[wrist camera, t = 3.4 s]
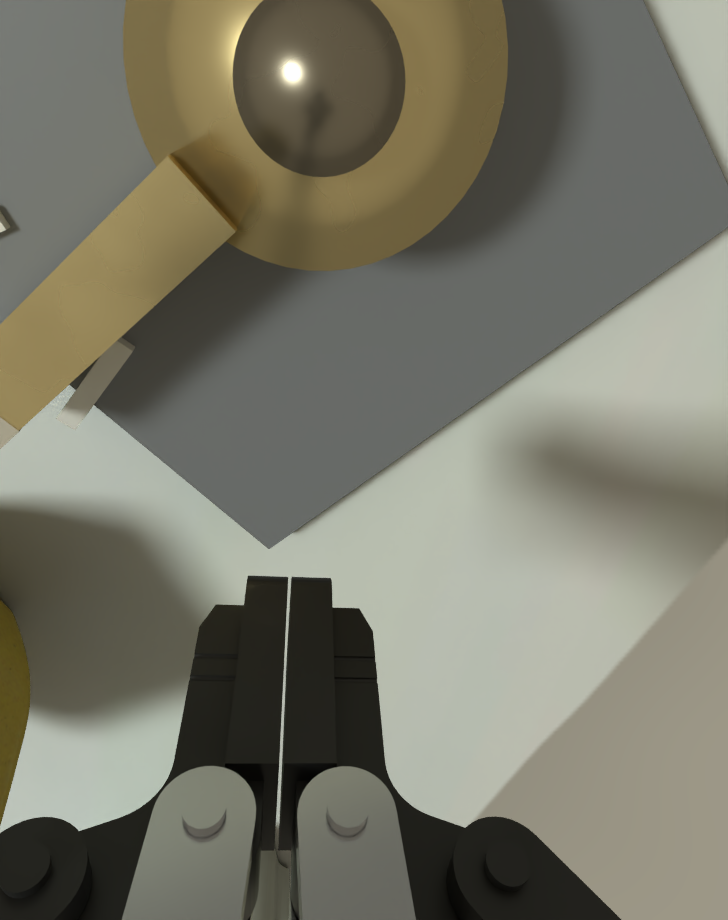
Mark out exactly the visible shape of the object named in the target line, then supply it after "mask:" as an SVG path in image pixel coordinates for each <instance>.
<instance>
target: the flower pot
mask: <svg viewBox="0 0 728 920" xmlns="http://www.w3.org/2000/svg"><path fill="white" fill-rule="evenodd" d="M29 707H30V673H29V666H28V660H27V656H26V651H25V647H24V644H23V640H22V637H21V634H20V631H19V628H18V625H17V622H16V620H15V617H14V615H13V613H12V611H11V610H10V609H9V608H8V607H7V606H6V605H5V604H4V603H3V602H2V601H1V600H0V824H1V821H2V817H3V814H4V810H5V806H6V803H7V799H8V795H9V792H10V788H11V784H12V781H13V777H14V773H15V769H16V765H17V761H18V758H19V754H20V750H21V746H22V743H23V739H24V734H25V730H26V725H27V720H28V715H29Z"/></svg>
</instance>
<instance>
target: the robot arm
mask: <svg viewBox="0 0 728 920" xmlns="http://www.w3.org/2000/svg"><path fill="white" fill-rule="evenodd" d="M287 589H288V577H270V576H248V579H247V586H246V594H245V602H244V605H215V607H214V608H213V609H212V611H211V612H210V614H209V615H208V616H207V618H206V619H205V620H204V622H203V623H202V624H201V626H200V627H199V633H198V638H197V643H196V648H195V656H194V659H193V664H192V670H191V675H190V681H189V685H188V691H187V696H186V701H185V706H184V712H183V717H182V722H181V727H180V733H179V738H178V743H177V749H176V754H175V759H174V763H173V767H172V770H171V772H170V775H169V777H168V779H167V781H166V782H165V784H164V785H163V787H162V788H161V789H160V791H159V792H158V793H157V794H156V795H155V796H154V797H153V798H152V799H151V800H150V801H149V802H148V803H146V804H145V805H143V806H142V807H141V808H139V809H138V810H136V811H134V812H132V813H130V814H128V815H126V816H123V817H121V818H118V819H115V820H112V821H109V822H106V823H103V824H100V825H97V826H94V827H91V828H88V829H85V830H82V831H78V830H77V829H76V828H75V827H74V826H73V825H71V824H70V823H68V822H66V821H64V820H62V819H58V818H53V817H40V818H33V819H29V820H26V821H23V822H20V823H18V824H15V825H13V826H11V827H10V828H8V829H6V830H4V831H3V832H2V833H0V920H621V919H620V918H619V917H618V916H617V915H616V914H615V913H614V912H613V911H612V910H611V909H610V908H609V907H608V906H607V905H606V904H605V903H604V902H603V901H602V900H601V899H600V898H599V897H598V896H597V895H596V894H595V893H594V892H593V891H592V890H591V889H590V888H589V887H587V885H586V884H585V883H584V882H583V881H582V880H580V878H579V877H577V875H576V874H574V873H573V872H572V871H571V870H570V869H569V868H568V867H567V866H566V865H565V864H564V863H563V862H562V861H561V860H560V859H559V858H558V857H557V856H556V855H555V854H554V853H553V852H552V851H551V850H550V849H549V848H548V847H547V846H546V845H545V844H544V843H543V842H542V841H541V840H540V839H539V838H538V837H537V836H536V835H535V834H534V833H533V832H531V831H530V830H529V829H528V828H526V827H525V826H523V825H521V824H520V823H518V822H515V821H513V820H510V819H507V818H503V817H486V818H482V819H478V820H476V821H474V822H472V823H471V824H470V825H468V826H467V827H466V828H464V827H461V826H458V825H455V824H452V823H450V822H447V821H444V820H441V819H438V818H435V817H432V816H430V815H427V814H425V813H423V812H421V811H419V810H417V809H416V808H414V807H412V806H411V805H410V804H409V803H407V802H406V801H405V800H404V799H403V798H402V797H401V796H400V795H399V793H398V792H397V791H396V789H395V788H394V786H393V785H392V783H391V781H390V779H389V776H388V773H387V770H386V765H385V758H384V747H383V736H382V725H381V715H380V704H379V693H378V683H377V672H376V662H375V651H374V640H373V631H372V629H371V627H370V626H369V624H368V623H367V621H366V619H365V618H364V616H363V614H362V613H361V611H360V609H359V608H332V582H331V578H306V577H292V579H291V595H290V612H289V629H288V647H287V667H286V690H285V712H284V735H283V758H282V780H281V803H280V825H279V848H278V850H292V852H291V887H290V870H289V869H287V868H285V867H283V866H282V865H281V864H279V862H278V859H277V854H276V850H275V848H274V842H275V825H276V807H277V789H278V772H279V753H280V732H281V712H282V691H283V671H284V650H285V630H286V609H287ZM289 893H290V899H289Z"/></svg>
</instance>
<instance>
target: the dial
mask: <svg viewBox="0 0 728 920" xmlns="http://www.w3.org/2000/svg"><path fill="white" fill-rule="evenodd" d="M123 60H124V67H125V75H126V82H127V89H128V93H129V97H130V101H131V105H132V109H133V113H134V117H135V120H136V122H137V125H138V128H139V130H140V133H141V136H142V138H143V141H144V143H145V145H146V147H147V149H148V151H149V153H150V155H151V157H152V159H153V161H154V163H155V165H156V168H155V169H154V170H153V171H152V172H151V173H150V174H149V175H148V176H147V177H146V178H145V179H144V180H143V181H142V182H141V183H140V184H139V185H138V186H137V187H136V188H135V189H134V190H133V191H132V192H131V193H130V194H129V195H128V196H127V197H126V198H125V199H124V200H123V201H122V202H121V203H120V204H119V205H118V206H117V207H116V208H115V209H114V210H113V211H112V212H111V213H110V214H109V215H108V216H107V217H106V218H105V219H104V220H103V221H102V222H101V223H100V224H99V225H98V226H97V227H96V228H95V229H94V230H93V231H92V232H91V233H90V235H89V236H88V237H87V238H86V239H85V240H84V241H83V242H82V243H81V244H80V245H79V246H78V247H77V248H76V249H75V250H74V251H73V252H72V253H71V254H70V255H69V256H68V257H67V258H66V259H65V260H64V261H63V262H62V263H61V264H60V265H59V266H58V267H57V268H56V269H55V270H54V271H53V272H52V273H51V274H50V275H49V276H48V277H47V278H46V279H45V280H44V281H43V282H42V283H41V284H40V285H39V286H38V287H37V288H36V289H35V290H34V291H33V292H32V293H31V294H30V295H29V296H28V297H27V298H26V299H25V300H24V301H23V302H22V303H21V304H20V305H19V306H18V307H17V308H16V309H15V310H14V311H13V312H12V313H11V314H10V315H9V316H8V317H7V318H6V319H5V320H4V321H3V322H2V323H1V324H0V449H1V448H2V447H3V446H4V445H5V444H6V443H7V442H8V441H9V440H10V439H12V438H13V437H14V436H15V435H16V434H17V433H18V432H19V431H20V430H21V428H22V427H23V426H24V425H25V424H26V423H28V422H29V421H30V420H31V419H32V418H33V417H34V416H35V415H36V414H37V413H38V412H40V411H41V410H42V409H43V408H44V407H45V406H46V405H47V404H48V403H49V402H50V401H52V400H53V399H54V398H55V397H56V396H57V395H58V394H59V393H60V392H61V391H63V390H64V389H65V388H66V387H67V386H68V385H69V384H70V383H71V382H72V381H73V380H75V379H76V378H77V377H78V376H79V375H80V374H81V373H82V372H83V371H84V370H85V369H87V368H88V367H89V366H90V365H91V364H92V363H93V362H94V361H95V360H96V359H97V358H99V357H100V356H101V355H102V354H103V353H104V352H105V351H106V350H107V349H108V348H109V347H111V346H112V345H113V344H114V343H115V342H116V341H117V340H118V339H119V338H120V337H122V336H123V335H124V334H125V333H126V332H127V331H128V330H129V329H130V328H131V327H132V326H134V325H135V324H136V323H137V322H138V321H139V320H140V319H141V318H142V317H143V316H144V315H146V314H147V313H148V312H149V311H150V310H151V309H152V308H153V307H154V306H155V305H156V304H158V303H159V302H160V301H161V300H162V299H163V298H164V297H165V296H166V295H167V294H168V293H170V292H171V291H172V290H173V289H174V288H175V287H176V286H177V285H178V284H179V283H180V282H182V281H183V280H184V279H185V278H186V277H187V276H188V275H189V274H190V273H191V272H193V271H194V270H195V269H196V268H197V267H198V266H199V265H200V264H201V263H202V262H203V261H205V260H206V259H207V258H208V257H209V256H210V255H211V254H212V253H213V252H214V251H215V250H217V249H218V248H219V247H220V246H221V245H222V244H223V243H224V242H225V241H226V242H228V243H229V244H231V245H233V246H234V247H236V248H238V249H240V250H241V251H243V252H245V253H247V254H250V255H252V256H254V257H257V258H259V259H261V260H264V261H266V262H270V263H273V264H277V265H280V266H284V267H288V268H295V269H301V270H308V271H334V270H343V269H352V268H356V267H360V266H364V265H368V264H372V263H375V262H377V261H380V260H382V259H385V258H388V257H390V256H393V255H394V254H396V253H398V252H400V251H402V250H404V249H405V248H407V247H409V246H411V245H413V244H414V243H415V242H417V241H418V240H420V239H421V238H422V237H424V236H425V235H426V234H428V233H429V232H431V231H432V230H433V229H434V228H435V227H436V226H437V225H438V224H439V223H440V222H441V221H442V220H443V219H445V218H446V217H447V216H448V215H449V213H450V212H451V211H452V210H453V209H454V207H455V206H456V205H457V204H458V203H459V202H460V200H461V199H462V198H463V197H464V195H465V194H466V192H467V191H468V189H469V188H470V186H471V185H472V183H473V181H474V180H475V178H476V177H477V175H478V173H479V171H480V169H481V167H482V165H483V163H484V161H485V159H486V157H487V155H488V153H489V150H490V147H491V145H492V142H493V139H494V137H495V134H496V131H497V128H498V124H499V120H500V116H501V112H502V108H503V104H504V97H505V90H506V82H507V71H508V41H507V29H506V18H505V13H504V8H503V3H502V0H126V3H125V13H124V23H123Z"/></svg>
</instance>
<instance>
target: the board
mask: <svg viewBox="0 0 728 920" xmlns="http://www.w3.org/2000/svg"><path fill="white" fill-rule="evenodd" d="M125 3H126V0H0V324H1V323H2V322H3V321H4V320H5V319H6V318H7V317H8V316H9V315H10V314H11V313H12V312H13V311H14V310H15V309H16V308H17V307H18V306H19V305H20V304H21V303H22V302H23V301H24V300H25V299H26V298H27V297H28V296H29V295H30V294H31V293H32V292H33V291H34V290H35V289H36V288H37V287H38V286H39V285H40V284H41V283H42V282H43V281H44V280H45V279H46V278H47V277H48V276H49V275H50V274H51V273H52V272H53V271H54V270H55V269H56V268H57V267H58V266H59V265H60V264H61V263H62V262H63V261H64V260H65V259H66V258H67V257H68V256H69V255H70V254H71V253H72V252H73V251H74V250H75V249H76V248H77V247H78V246H79V245H80V244H81V243H82V242H83V241H84V240H85V239H86V238H87V237H88V236H89V235H90V233H91V232H92V231H93V230H94V229H95V228H96V227H97V226H98V225H99V224H100V223H101V222H102V221H103V220H104V219H105V218H106V217H107V216H108V215H109V214H110V213H111V212H112V211H113V210H114V209H115V208H116V207H117V206H118V205H119V204H120V203H121V202H122V201H123V200H124V199H125V198H126V197H127V196H128V195H129V194H130V193H131V192H132V191H133V190H134V189H135V188H136V187H137V186H138V185H139V184H140V183H141V182H142V181H143V180H144V179H145V178H146V177H147V176H148V175H149V174H150V173H151V172H152V171H153V170H154V169H155V168H156V165H155V163H154V161H153V159H152V157H151V155H150V153H149V151H148V149H147V147H146V145H145V143H144V141H143V138H142V136H141V133H140V130H139V128H138V125H137V122H136V120H135V117H134V113H133V109H132V105H131V101H130V97H129V93H128V89H127V82H126V75H125V67H124V60H123V23H124V13H125ZM502 3H503V8H504V13H505V18H506V29H507V41H508V71H507V82H506V90H505V97H504V104H503V108H502V112H501V116H500V120H499V124H498V128H497V131H496V134H495V137H494V139H493V142H492V145H491V147H490V150H489V153H488V155H487V157H486V159H485V161H484V163H483V165H482V167H481V169H480V171H479V173H478V175H477V177H476V178H475V180H474V181H473V183H472V185H471V186H470V188H469V189H468V191H467V192H466V194H465V195H464V197H463V198H462V199H461V200H460V202H459V203H458V204H457V205H456V206H455V207H454V209H453V210H452V211H451V212H450V213H449V215H448V216H447V217H446V218H445V219H443V220H442V221H441V222H440V223H439V224H438V225H437V226H436V227H435V228H434V229H433V230H432V231H431V232H429V233H428V234H426V235H425V236H424V237H422V238H421V239H420V240H418V241H417V242H415V243H414V244H413V245H411V246H409V247H407V248H405V249H404V250H402V251H400V252H398V253H396V254H394V255H393V256H390V257H388V258H385V259H382V260H380V261H377V262H375V263H372V264H368V265H364V266H360V267H356V268H352V269H343V270H334V271H308V270H301V269H295V268H288V267H284V266H280V265H277V264H273V263H270V262H266V261H264V260H261V259H259V258H257V257H254V256H252V255H250V254H247V253H245V252H243V251H241V250H240V249H238V248H236V247H234V246H233V245H231V244H229V243H228V242H226V241H225V242H224V243H223V244H222V245H221V246H220V247H219V248H218V249H217V250H215V251H214V252H213V253H212V254H211V255H210V256H209V257H208V258H207V259H206V260H205V261H203V262H202V263H201V264H200V265H199V266H198V267H197V268H196V269H195V270H194V271H193V272H191V273H190V274H189V275H188V276H187V277H186V278H185V279H184V280H183V281H182V282H180V283H179V284H178V285H177V286H176V287H175V288H174V289H173V290H172V291H171V292H170V293H168V294H167V295H166V296H165V297H164V298H163V299H162V300H161V301H160V302H159V303H158V304H156V305H155V306H154V307H153V308H152V309H151V310H150V311H149V312H148V313H147V314H146V315H144V316H143V317H142V318H141V319H140V320H139V321H138V322H137V323H136V324H135V325H134V326H132V327H131V328H130V329H129V330H128V331H127V332H126V333H125V334H124V335H123V336H122V337H120V338H119V339H118V340H117V341H116V342H115V343H114V344H113V345H112V346H111V347H109V348H108V349H107V350H106V351H105V352H104V353H103V354H102V355H101V356H100V357H99V358H97V359H96V360H95V361H94V362H93V363H92V364H91V365H90V366H89V367H88V368H87V369H85V370H84V371H83V372H82V373H81V374H80V375H79V376H78V377H77V378H76V379H75V380H73V381H72V382H71V383H70V384H69V385H71V386H72V387H73V388H74V389H75V390H76V391H75V392H74V394H73V395H72V397H71V398H70V399H69V401H68V402H67V404H66V405H65V406H64V408H63V409H62V411H61V412H60V414H59V415H58V416H57V418H56V419H57V420H59V421H60V422H62V423H64V424H66V425H67V426H69V427H71V428H72V429H74V430H76V428H77V427H78V426H79V424H80V423H81V422H82V420H83V419H84V418H85V416H86V415H87V413H88V412H89V411H90V409H91V408H92V407H93V405H95V406H96V407H97V408H98V409H100V410H101V411H102V412H103V413H105V414H106V415H107V416H108V417H109V418H111V419H112V420H113V421H114V422H115V423H117V424H118V425H119V426H120V427H121V428H123V429H124V430H125V431H126V432H128V433H129V434H130V435H131V436H132V437H134V438H135V439H136V440H137V441H138V442H140V443H141V444H142V445H143V446H145V447H146V448H147V449H148V450H149V451H151V452H152V453H153V454H154V455H155V456H157V457H158V458H159V459H160V460H161V461H163V462H164V463H165V464H166V465H168V466H169V467H170V468H171V469H172V470H174V471H175V472H176V473H177V474H178V475H180V476H181V477H182V478H183V479H185V480H186V481H187V482H188V483H189V484H191V485H192V486H193V487H194V488H195V489H197V490H198V491H199V492H200V493H201V494H203V495H204V496H205V497H206V498H208V499H209V500H210V501H211V502H212V503H214V504H215V505H216V506H217V507H218V508H220V509H221V510H222V511H223V512H225V513H226V514H227V515H228V516H229V517H231V518H232V519H233V520H234V521H235V522H237V523H238V524H239V525H240V526H241V527H243V528H244V529H245V530H246V531H248V532H249V533H250V534H251V535H252V536H254V537H255V538H256V539H257V540H258V541H260V542H261V543H262V544H263V545H265V546H266V547H267V548H268V549H270V548H271V547H273V546H274V545H276V544H277V543H278V542H280V541H281V540H283V539H284V538H286V537H287V536H288V535H290V534H291V533H293V532H294V531H296V530H297V529H298V528H300V527H301V526H303V525H304V524H306V523H307V522H308V521H310V520H311V519H313V518H314V517H315V516H317V515H318V514H320V513H321V512H323V511H324V510H325V509H327V508H328V507H330V506H331V505H333V504H334V503H335V502H337V501H338V500H340V499H341V498H343V497H344V496H345V495H347V494H348V493H350V492H351V491H353V490H354V489H355V488H357V487H358V486H360V485H361V484H363V483H364V482H365V481H367V480H368V479H370V478H371V477H372V476H374V475H375V474H377V473H378V472H380V471H381V470H382V469H384V468H385V467H387V466H388V465H390V464H391V463H392V462H394V461H395V460H397V459H398V458H400V457H401V456H402V455H404V454H405V453H407V452H408V451H410V450H411V449H412V448H414V447H415V446H417V445H418V444H420V443H421V442H422V441H424V440H425V439H427V438H428V437H430V436H431V435H432V434H434V433H435V432H437V431H438V430H439V429H441V428H442V427H444V426H445V425H447V424H448V423H449V422H451V421H452V420H454V419H455V418H457V417H458V416H459V415H461V414H462V413H464V412H465V411H467V410H468V409H469V408H471V407H472V406H474V405H475V404H477V403H478V402H479V401H481V400H482V399H484V398H485V397H487V396H488V395H489V394H491V393H492V392H494V391H495V390H497V389H498V388H499V387H501V386H502V385H504V384H505V383H506V382H508V381H509V380H511V379H512V378H514V377H515V376H516V375H518V374H519V373H521V372H522V371H524V370H525V369H526V368H528V367H529V366H531V365H532V364H534V363H535V362H536V361H538V360H539V359H541V358H542V357H544V356H545V355H546V354H548V353H549V352H551V351H552V350H554V349H555V348H556V347H558V346H559V345H561V344H562V343H564V342H565V341H566V340H568V339H569V338H571V337H572V336H573V335H575V334H576V333H578V332H579V331H581V330H582V329H583V328H585V327H586V326H588V325H589V324H591V323H592V322H593V321H595V320H596V319H598V318H599V317H601V316H602V315H603V314H605V313H606V312H608V311H609V310H611V309H612V308H613V307H615V306H616V305H618V304H619V303H621V302H622V301H623V300H625V299H626V298H628V297H629V296H631V295H632V294H633V293H635V292H636V291H638V290H639V289H640V288H642V287H643V286H645V285H646V284H648V283H649V282H650V281H652V280H653V279H655V278H656V277H658V276H659V275H660V274H662V273H663V272H665V271H666V270H668V269H669V268H670V267H672V266H673V265H675V264H676V263H678V262H679V261H680V260H682V259H683V258H685V257H686V256H688V255H689V254H690V253H692V252H693V251H695V250H696V249H698V248H699V247H700V246H702V245H703V244H705V243H706V242H707V241H709V240H710V239H712V238H713V237H715V236H716V235H717V234H719V233H720V232H722V231H723V230H725V229H726V228H727V227H728V184H727V182H726V180H725V178H724V176H723V173H722V171H721V169H720V167H719V165H718V162H717V160H716V158H715V156H714V154H713V152H712V149H711V147H710V145H709V143H708V141H707V138H706V136H705V134H704V132H703V130H702V128H701V125H700V123H699V121H698V119H697V117H696V114H695V112H694V110H693V108H692V106H691V104H690V101H689V99H688V97H687V95H686V93H685V90H684V88H683V86H682V84H681V82H680V80H679V77H678V75H677V73H676V71H675V69H674V67H673V64H672V62H671V60H670V58H669V56H668V53H667V51H666V49H665V47H664V45H663V43H662V40H661V38H660V36H659V34H658V32H657V29H656V27H655V25H654V23H653V21H652V19H651V16H650V14H649V12H648V10H647V8H646V5H645V3H644V1H643V0H502Z"/></svg>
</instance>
